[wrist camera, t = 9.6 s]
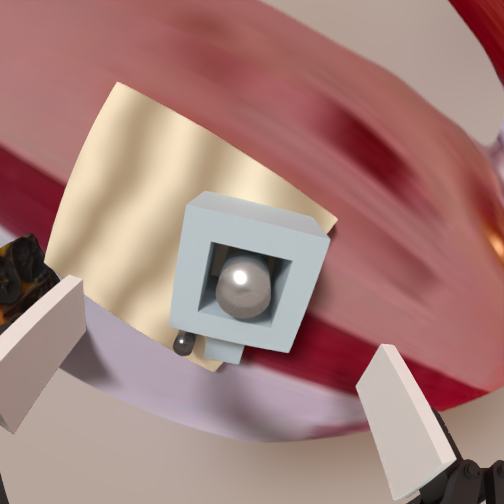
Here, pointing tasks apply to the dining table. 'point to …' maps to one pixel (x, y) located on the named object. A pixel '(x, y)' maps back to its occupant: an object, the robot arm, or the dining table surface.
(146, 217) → the board
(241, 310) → the post
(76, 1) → the dining table surface
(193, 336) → the dowel
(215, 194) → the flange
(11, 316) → the yellow black cube
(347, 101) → the dining table surface
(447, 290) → the dining table surface
